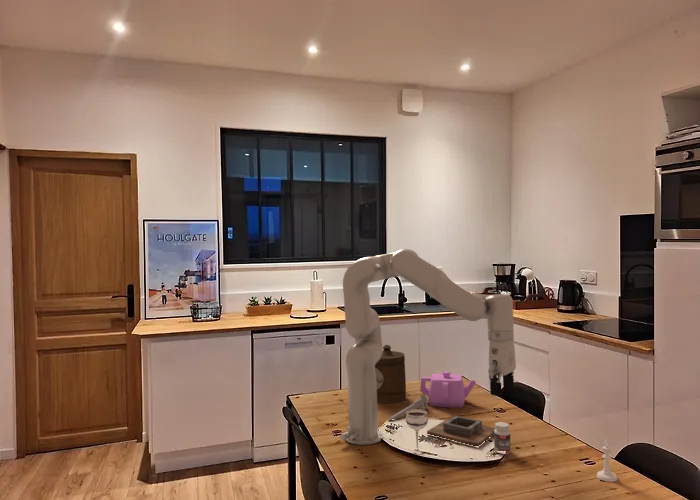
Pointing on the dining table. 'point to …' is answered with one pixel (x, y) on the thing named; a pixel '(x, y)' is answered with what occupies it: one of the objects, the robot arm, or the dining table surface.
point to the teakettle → (446, 389)
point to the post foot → (463, 430)
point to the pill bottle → (502, 437)
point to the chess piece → (606, 466)
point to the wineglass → (416, 420)
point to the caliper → (412, 407)
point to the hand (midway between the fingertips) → (502, 391)
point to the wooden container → (390, 376)
